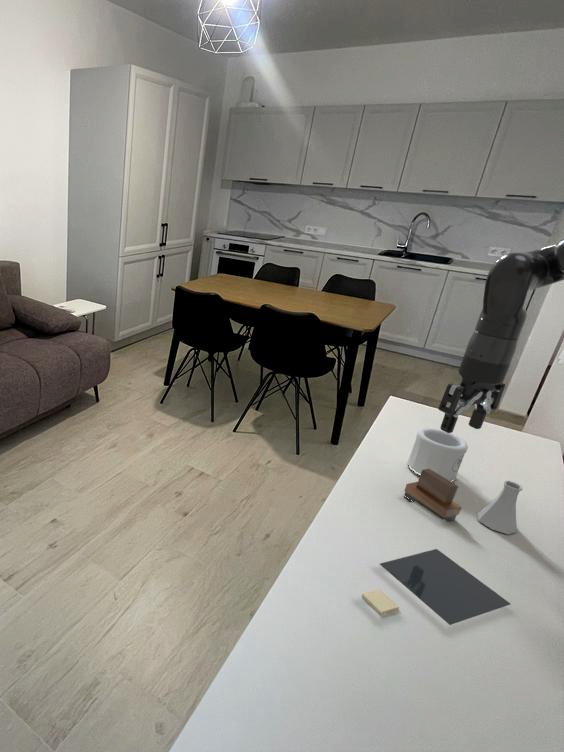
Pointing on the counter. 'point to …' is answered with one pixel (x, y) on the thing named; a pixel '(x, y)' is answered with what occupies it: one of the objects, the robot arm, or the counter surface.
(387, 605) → the felt pad
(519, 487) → the flask
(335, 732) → the counter surface
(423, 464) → the mug
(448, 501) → the brush
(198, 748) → the counter surface
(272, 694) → the counter surface
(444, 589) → the slate tile
